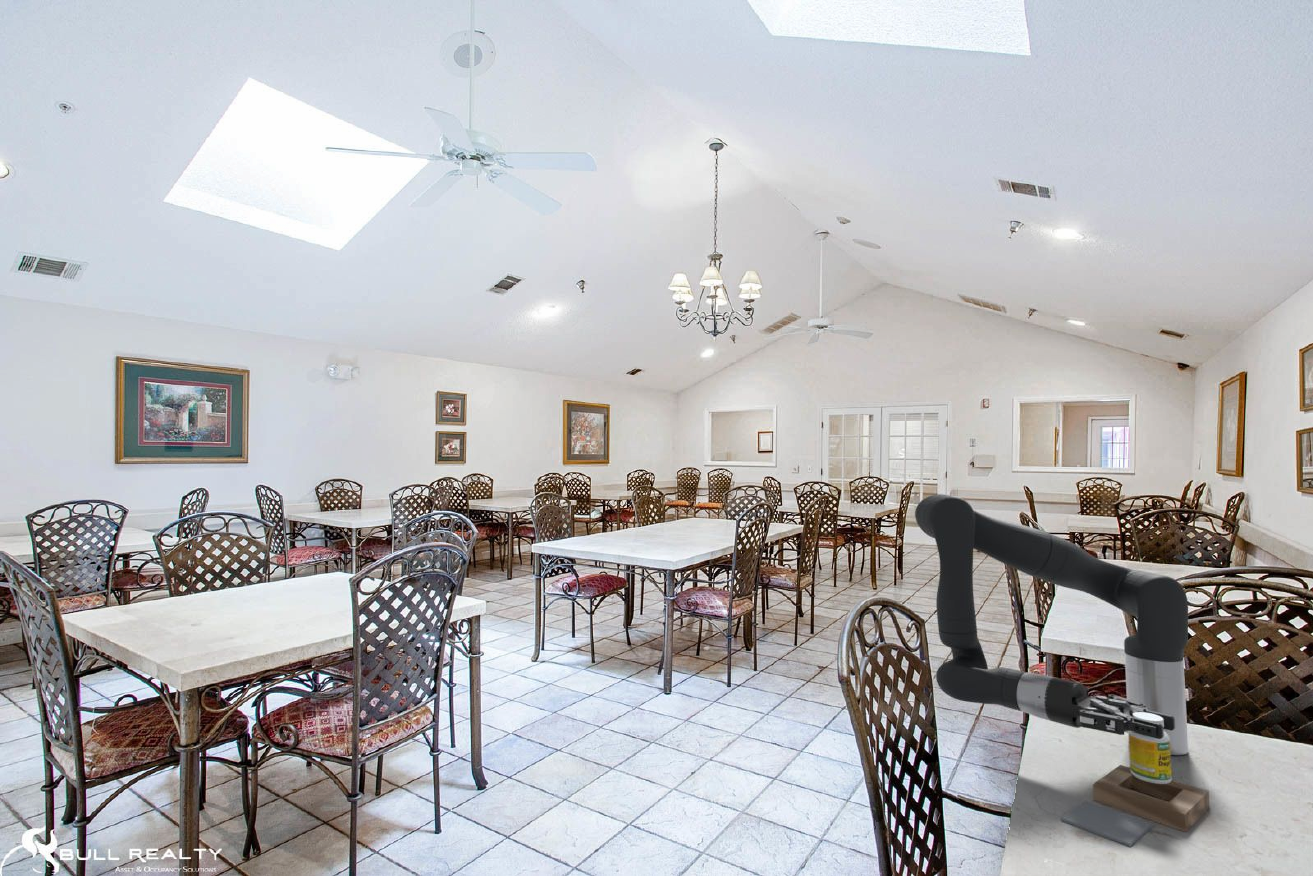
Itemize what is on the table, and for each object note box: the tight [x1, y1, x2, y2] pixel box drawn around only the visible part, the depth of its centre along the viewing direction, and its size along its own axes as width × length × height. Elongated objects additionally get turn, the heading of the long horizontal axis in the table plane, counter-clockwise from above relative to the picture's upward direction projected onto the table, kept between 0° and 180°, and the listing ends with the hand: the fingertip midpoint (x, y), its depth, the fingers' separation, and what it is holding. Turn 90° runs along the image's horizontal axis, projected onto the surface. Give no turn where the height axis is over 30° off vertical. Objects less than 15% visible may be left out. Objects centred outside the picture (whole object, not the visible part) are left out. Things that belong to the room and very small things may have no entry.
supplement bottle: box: [1128, 712, 1173, 784], centre depth 105 cm, size 5×5×10 cm
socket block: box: [1092, 764, 1211, 833], centre depth 105 cm, size 12×12×2 cm
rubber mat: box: [1060, 799, 1153, 848], centre depth 99 cm, size 9×9×1 cm
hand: (1167, 727), depth 104 cm, fingers closed on supplement bottle, 5 cm apart
